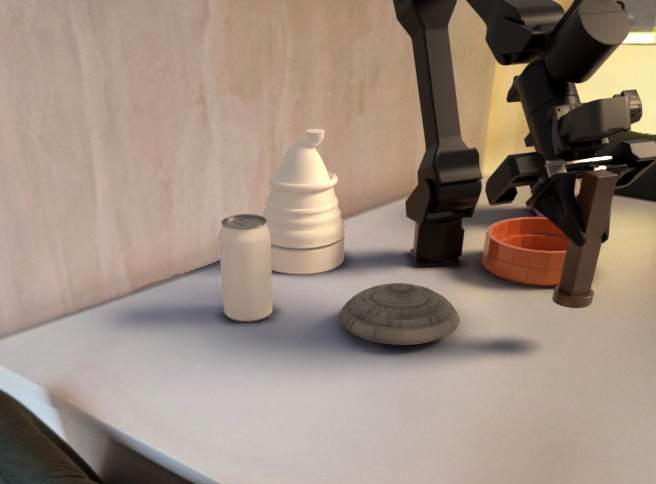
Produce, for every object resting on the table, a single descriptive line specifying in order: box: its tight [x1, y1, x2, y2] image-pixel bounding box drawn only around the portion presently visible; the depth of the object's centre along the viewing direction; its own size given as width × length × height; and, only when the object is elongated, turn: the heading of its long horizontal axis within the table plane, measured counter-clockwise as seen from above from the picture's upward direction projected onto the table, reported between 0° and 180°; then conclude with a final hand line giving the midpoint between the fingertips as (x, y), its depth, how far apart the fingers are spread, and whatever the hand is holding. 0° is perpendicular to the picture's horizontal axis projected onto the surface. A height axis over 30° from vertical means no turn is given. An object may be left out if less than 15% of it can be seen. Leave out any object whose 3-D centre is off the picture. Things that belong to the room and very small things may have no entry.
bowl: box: [481, 216, 569, 287], centre depth 110 cm, size 16×16×5 cm
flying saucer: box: [338, 282, 461, 346], centre depth 95 cm, size 15×15×6 cm
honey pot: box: [262, 128, 346, 275], centre depth 111 cm, size 13×13×18 cm
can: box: [218, 213, 273, 323], centre depth 98 cm, size 6×6×12 cm
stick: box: [551, 169, 618, 309], centre depth 84 cm, size 4×4×14 cm
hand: (593, 243), depth 83 cm, fingers closed on stick, 2 cm apart
